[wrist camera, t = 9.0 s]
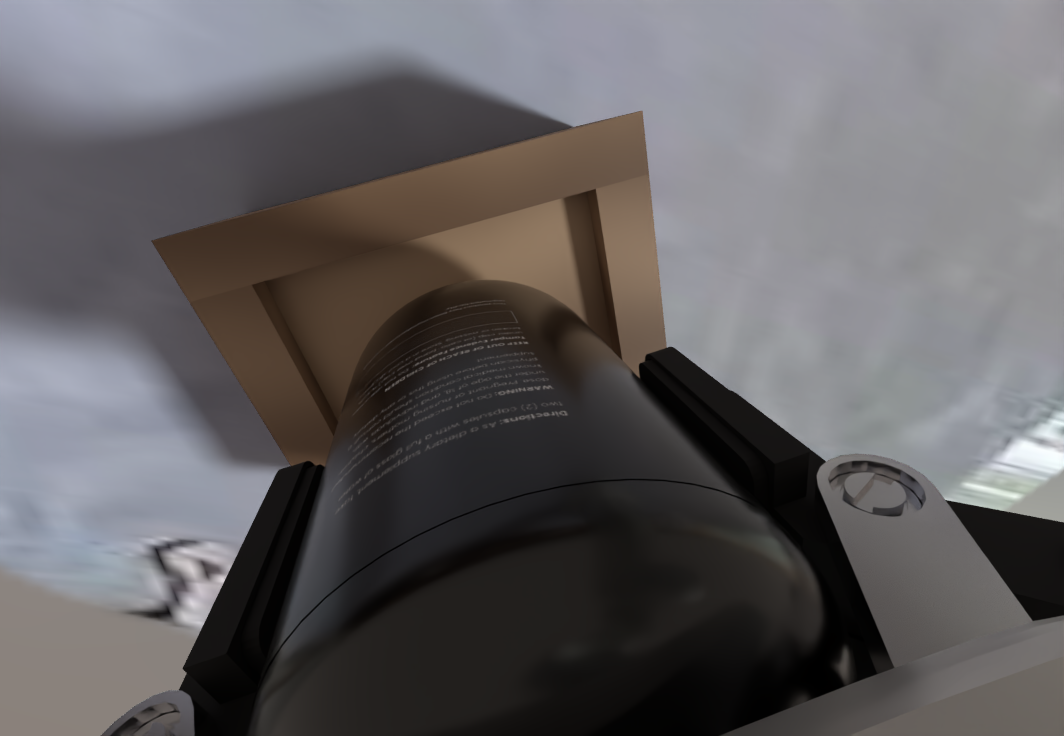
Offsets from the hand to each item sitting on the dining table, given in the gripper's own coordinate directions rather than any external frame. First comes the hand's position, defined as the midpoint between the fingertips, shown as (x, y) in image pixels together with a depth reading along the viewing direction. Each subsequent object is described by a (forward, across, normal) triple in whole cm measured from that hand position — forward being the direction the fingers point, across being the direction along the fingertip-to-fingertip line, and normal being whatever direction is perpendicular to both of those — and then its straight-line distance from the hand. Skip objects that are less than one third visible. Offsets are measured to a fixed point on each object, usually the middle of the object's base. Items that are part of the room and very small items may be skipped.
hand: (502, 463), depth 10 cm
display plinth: (+10, 0, 0) cm, 10 cm away
